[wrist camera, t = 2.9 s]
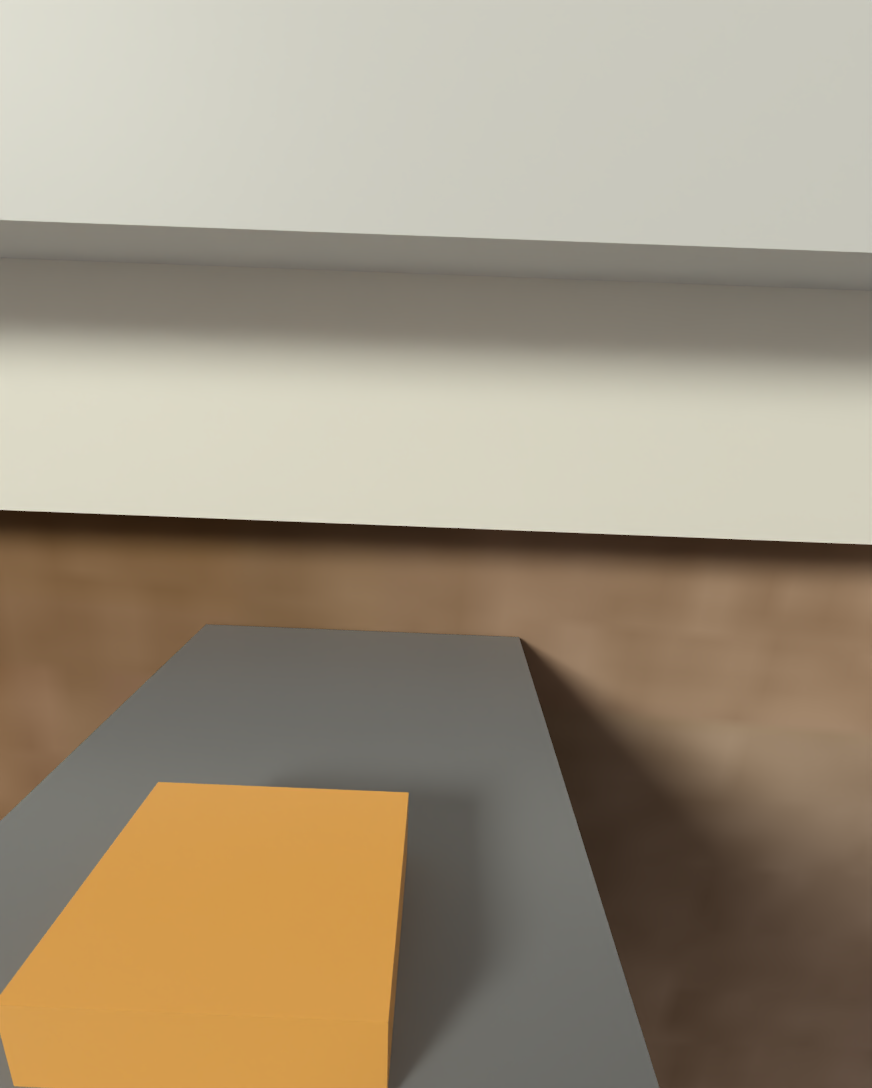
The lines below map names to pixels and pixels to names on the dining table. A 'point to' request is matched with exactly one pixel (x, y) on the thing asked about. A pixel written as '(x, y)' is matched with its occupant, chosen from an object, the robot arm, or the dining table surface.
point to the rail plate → (438, 409)
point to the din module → (312, 881)
